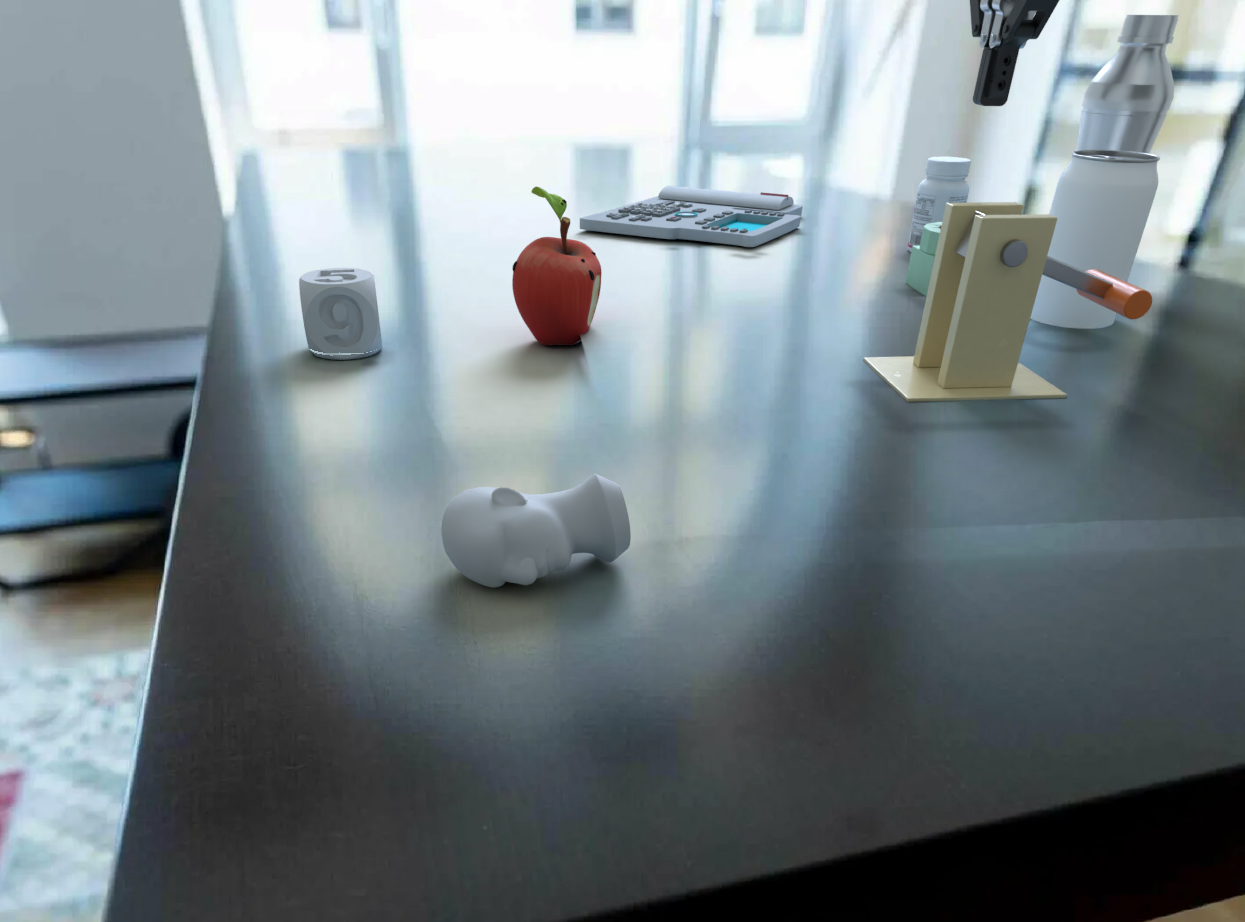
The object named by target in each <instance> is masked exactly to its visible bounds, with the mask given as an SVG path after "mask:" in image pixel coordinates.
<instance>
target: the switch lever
mask: <svg viewBox="0 0 1245 922" xmlns="http://www.w3.org/2000/svg"><path fill="white" fill-rule="evenodd" d="M975 215H986V214H983V213H981V212H978V211H976V212H975V213H974V215H973V217H972V219H971V221H970V223H969V225H968V227H967V229H966V230H965V232H964V234H963V236H962V238H961V240H960V242H959V244H958V245H957V247H956V249H955V253H957V254H959V255H961V256H963V257H965V258H966V253H967V249H968V245H969V240H970V236H971V231H972V227H973V222H974V218H975ZM1042 275H1044V276H1047V277H1049V278H1051V279H1054V280H1056V281H1059V282H1061V283H1064V284H1066V285H1068V286H1071V287H1073V288H1076V289H1077V292H1078V294H1079V295H1081V296H1083V297H1085V298H1087V299H1089V300H1091V301H1093V302H1095V303H1097V304H1099V305H1101V306H1103V307H1106V308H1108V309H1110V310H1112V311H1114V312H1116V313H1117V314H1118V315H1120V316H1122V317H1124V318H1126V319H1128V320H1137V319H1140V318H1142V317H1144V316H1145V315H1146V314H1147V313H1148V312H1149V311H1150V309H1151V307H1152V305H1153V296H1152V294H1151V292H1150V291H1149V290H1146V289H1144V288H1142V287H1139V286H1138V285H1135V284H1133V283H1131V282H1128V281H1127V282H1125V281H1123V280H1121V279H1118V278H1116V277H1114V276H1111V275H1109V274H1107V273H1104V272H1102V271H1100V270H1097V269H1090V270H1087V271H1086V272H1085V271H1083V270H1080V269H1078V268H1076V267H1073V266H1071V265H1069V264H1066V263H1064V262H1061V261H1059V260H1057V259H1054V258H1052V257H1049V256H1047V259H1046V262H1045V266H1044V270H1043V273H1042Z"/></svg>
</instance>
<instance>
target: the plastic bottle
mask: <svg viewBox="0 0 1245 922" xmlns="http://www.w3.org/2000/svg"><path fill="white" fill-rule="evenodd" d="M1179 17H1180V16H1179V15H1178V14H1126V15H1125V18H1124V21H1123V25H1122V28H1121V32H1120V35H1118V37H1117V41H1116V43H1119V48H1118V50H1117V52H1116V53H1115V54H1114V55H1113V56H1112V57H1111V58H1110V59H1109V60H1108V61H1107V62H1106V63H1105V64H1104V65H1103V66H1102V68H1101V69H1100V70H1099V71H1098V72H1097V73H1096V75H1095V76H1094V77H1093V78H1092V79H1091V80H1090V82H1089V84H1088V85H1087V88H1086V90H1085V92H1084V94H1083V100H1082V105H1081V107H1082V110H1081V112H1080V119H1079V127H1078V133H1077V142H1076V146H1075V147H1076V148H1075V151H1079V150H1118V151H1131V152H1140V153H1147V154H1151V151H1152V149H1153V147H1154V144H1155V142H1156V140H1157V137H1158V135H1159V133H1160V131H1161V128H1162V127H1163V124H1164V122H1165V120H1166V118H1167V113H1168V111H1170V108H1171V105H1172V103H1173V100H1174V98H1175V97H1174V96H1175V81H1174V78H1173V72H1172V69H1171V66H1170V64H1169V61H1168V58H1167V55H1166V51H1167V46H1168V45H1169V44H1173V41H1174V38H1175V37H1174V33H1175V31H1176V27H1177V24H1178V22H1179V21H1178V20H1179Z"/></svg>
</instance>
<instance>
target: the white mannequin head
mask: <svg viewBox="0 0 1245 922" xmlns="http://www.w3.org/2000/svg"><path fill="white" fill-rule="evenodd" d="M443 512H444V513H443V516H442V519H441V540H442V545H443V549H444V551H445V554H446V555H447V557H448V559H449V561H450V562H451V564H452V565H453V566H454V568H456V570H457V571H458V572H459V573H461V575H463V577H465V578H466V579H468V580H471V581H472V582H475V583H477V584H479V585H482V586H483V587H488V588H500V587H502V586H503V585H504V584H505V583H506V582H507V583H513V584H518V585H522V586H529V585H532V584H534V582H535V581H536V580H537V579H540V578H544V577H546V576H547V574H551V573H555V572H560V571H564V570H566V569H568V568H569V566H570V564H571V560H572V555H574V554H590V555H593V556H594V557H597V558H598V559H599V560H601V561H603V562H606V563H612V562H614V561H616V559H618V558H619V557H620V556H621V555H623V554H624V553H625V552H626V551H627V550H628V549H629V548H630V545H631V538H632V537H631V533H632V532H631V525H630V524H631V523H630V518H629V513H628V508H627V504H626V500H625V496H624V494H623V490H622V489H621V486H620V485H619V484H618V483H617V482H614V481H613V480H611V479H608V478H606V477H604V476H602V475H599V474H597V473H592V474H591V475H590V476H589V477H587V478H586V479H585V480H584V481H582V482H581V483H579V484H578V485H576V486H573V487H571V488H569V489H564V490H561V491H555V492H549V493H548V492H547V493H533V494H532V493H531V494H529V493H524V492H521V491H517V490H515V489H513V488H510V487H506V486H500V487H494V486H493V487H492V486H479V487H472V488H468V489H466V490H463V491H461V492H459V493H458V494H456V495H455V496H454V497H453V498H452V499H451V500H450V501H449V503H447V506H446V507H445V510H444V511H443Z"/></svg>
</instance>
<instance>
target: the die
mask: <svg viewBox="0 0 1245 922" xmlns="http://www.w3.org/2000/svg"><path fill="white" fill-rule="evenodd" d="M298 288H299V289H298V290H299V300H300V307H301V315H302V321H303V328H304V332H305V338H306V342H307V343H306V344H307V347H308V350H309V349H312V350H314V351H318V352H323V353H339V352H340V353H364V354H351V355H333V356H330V355H322V354H317V353H314V352H312V351H310V352H311V353H312V354H313V355H314V356H316V357H319V358H321V359H324V360H325V359H326V360H332V361H333V360H334V361H338V360H339V361H347V360H349V361H350V360H358V359H363V358H368V357H370V356H373V355H376V354H377V353H379V352H380V351H381V349H382V348H383V339H382V330H381V323H380V313H379V306H378V297H377V288H376V281H375V275H374V274H373V273H372V272H371V271H369V270H366V269H363V268H358V267H357V268H355V267H330V268H329V267H328V268H321V269H315V270H311V271H308V272H306V273H303V274H302V275H301V276H300V277H299V278H298ZM376 349H377V350H376ZM374 350H375V351H374ZM370 351H372V352H370ZM366 352H368V353H366Z"/></svg>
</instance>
